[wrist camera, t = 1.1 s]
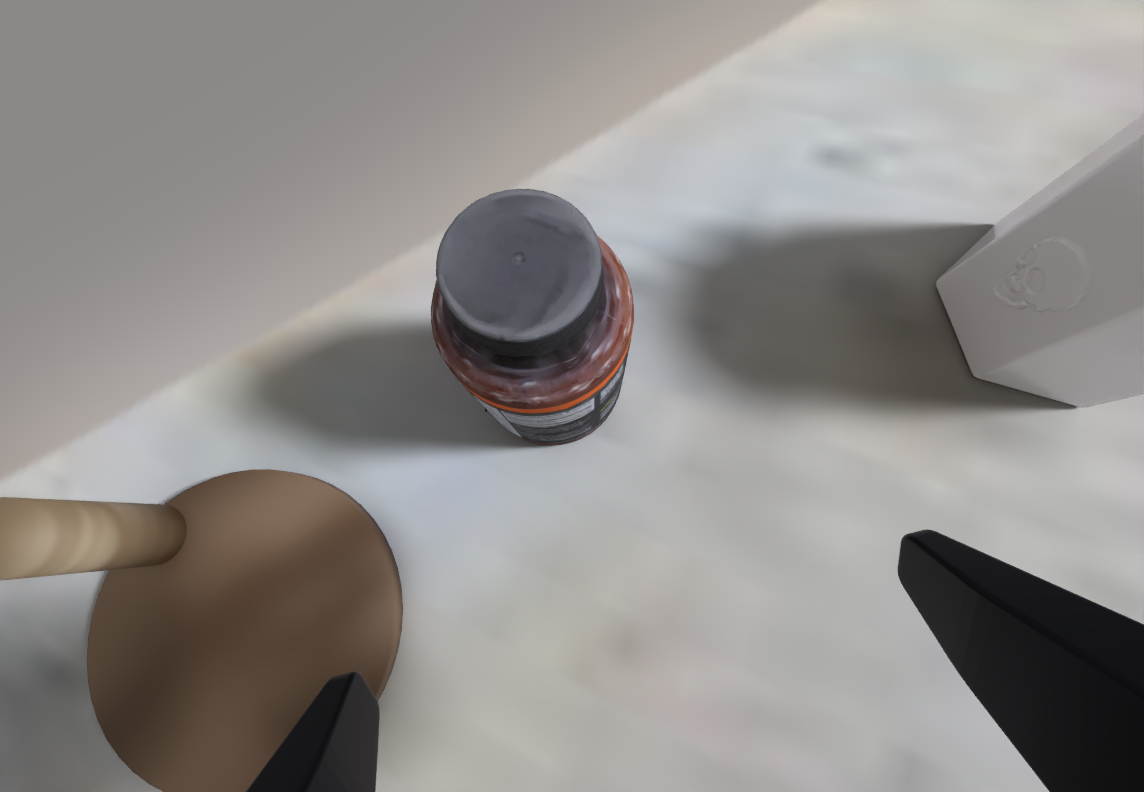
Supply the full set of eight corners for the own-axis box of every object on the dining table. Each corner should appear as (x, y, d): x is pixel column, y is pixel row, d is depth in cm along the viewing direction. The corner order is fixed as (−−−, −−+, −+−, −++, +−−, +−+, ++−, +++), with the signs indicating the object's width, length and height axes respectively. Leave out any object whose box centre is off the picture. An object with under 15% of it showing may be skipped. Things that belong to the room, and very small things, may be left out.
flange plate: (463, 603, 21) (403, 640, 14) (241, 867, 19) (51, 1053, 13) (262, 410, 23) (128, 363, 17) (45, 630, 22) (-205, 678, 15)
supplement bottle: (496, 313, 24) (417, 138, 13) (626, 324, 24) (655, 154, 13) (476, 441, 23) (370, 365, 12) (614, 455, 22) (635, 390, 11)
